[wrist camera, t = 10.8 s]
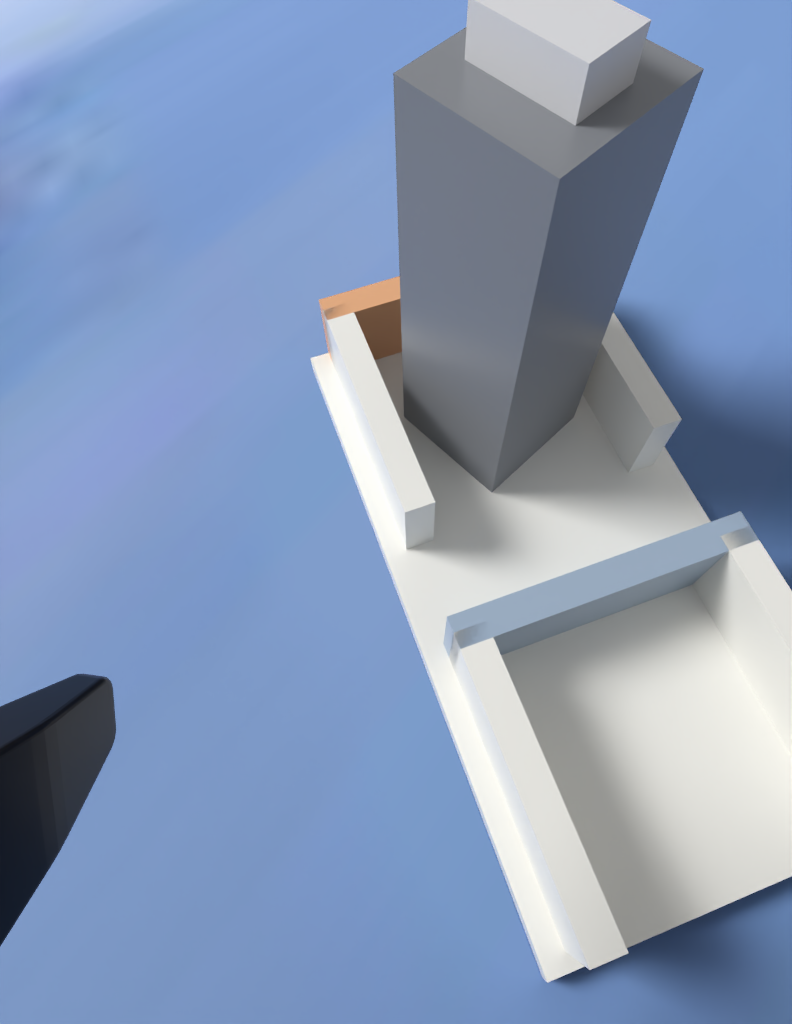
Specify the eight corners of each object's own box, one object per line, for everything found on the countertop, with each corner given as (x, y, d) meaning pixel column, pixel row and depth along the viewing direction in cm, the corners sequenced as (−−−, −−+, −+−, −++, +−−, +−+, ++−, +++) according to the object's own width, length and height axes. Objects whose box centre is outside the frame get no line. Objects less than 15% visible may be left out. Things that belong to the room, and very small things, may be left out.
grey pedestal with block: (573, 417, 26) (727, 5, 13) (491, 492, 25) (572, 118, 12) (485, 349, 27) (546, -82, 15) (403, 417, 26) (391, 10, 13)
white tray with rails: (882, 829, 20) (976, 828, 17) (542, 977, 19) (569, 1008, 16) (559, 295, 29) (578, 223, 26) (313, 370, 28) (298, 305, 25)
